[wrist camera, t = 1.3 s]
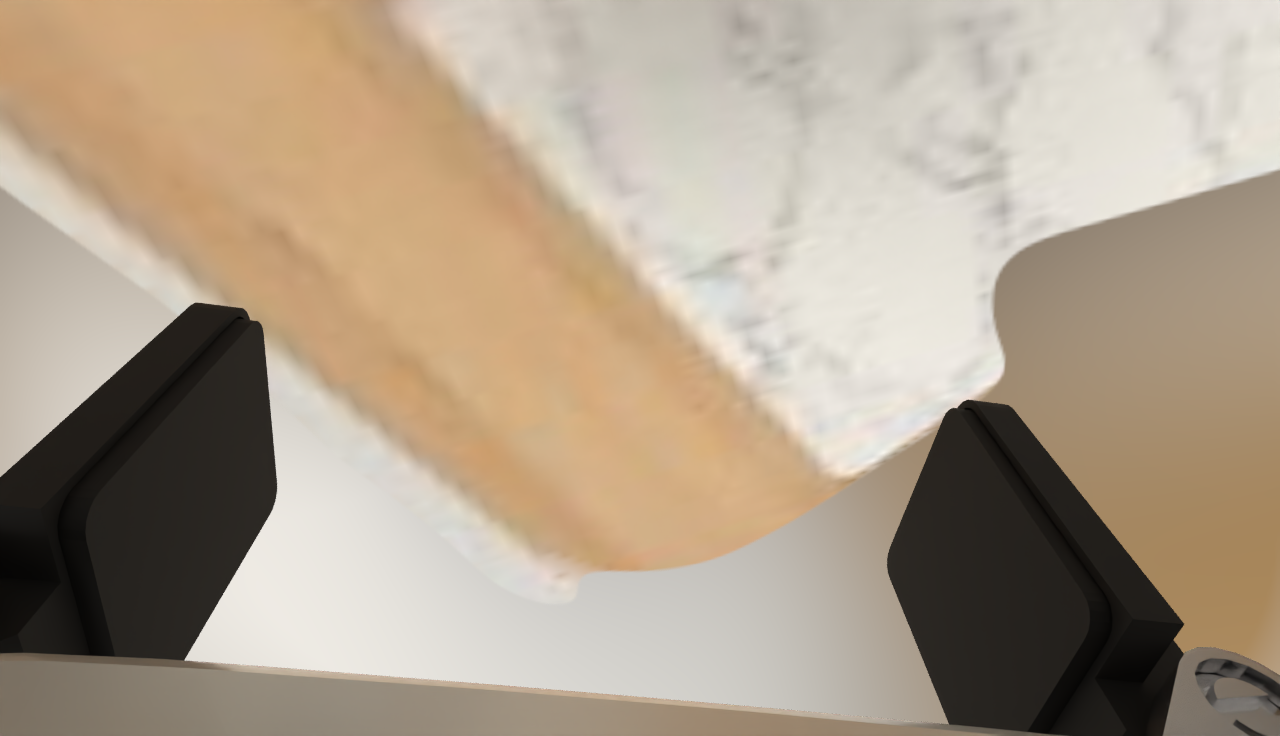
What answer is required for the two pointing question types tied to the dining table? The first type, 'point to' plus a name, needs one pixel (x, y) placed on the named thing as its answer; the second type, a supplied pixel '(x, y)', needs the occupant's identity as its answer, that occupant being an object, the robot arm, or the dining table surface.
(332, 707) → the robot arm
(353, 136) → the dining table surface
